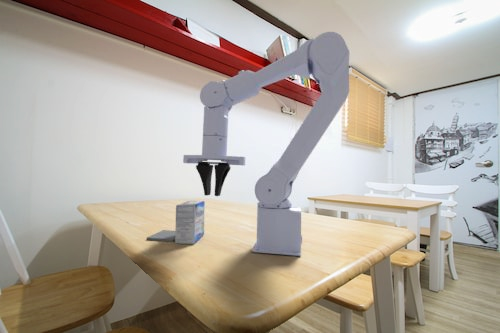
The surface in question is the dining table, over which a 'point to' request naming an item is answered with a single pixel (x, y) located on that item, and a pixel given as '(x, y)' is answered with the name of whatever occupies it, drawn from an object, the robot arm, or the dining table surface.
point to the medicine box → (189, 222)
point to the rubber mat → (163, 236)
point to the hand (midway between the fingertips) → (212, 195)
